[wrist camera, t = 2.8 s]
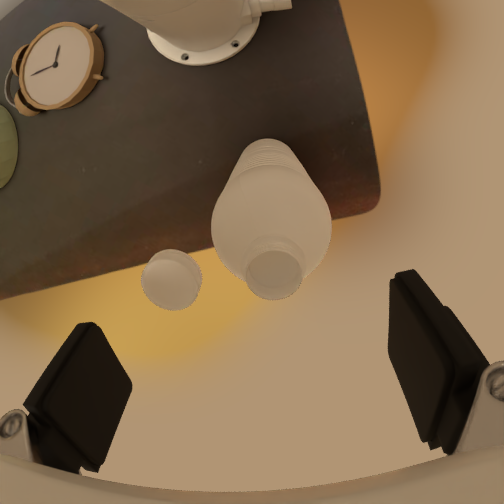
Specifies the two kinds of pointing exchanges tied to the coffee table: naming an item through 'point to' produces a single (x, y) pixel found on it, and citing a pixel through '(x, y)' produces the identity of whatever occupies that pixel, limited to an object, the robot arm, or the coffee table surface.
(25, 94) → the alarm clock
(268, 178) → the plastic bottle and lid
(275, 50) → the coffee table surface
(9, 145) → the holder
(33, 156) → the coffee table surface
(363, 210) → the coffee table surface
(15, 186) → the coffee table surface
